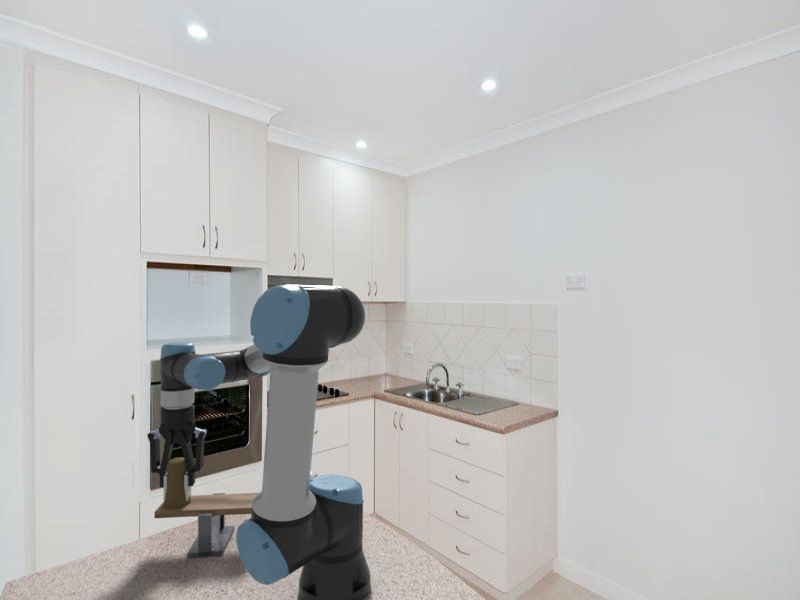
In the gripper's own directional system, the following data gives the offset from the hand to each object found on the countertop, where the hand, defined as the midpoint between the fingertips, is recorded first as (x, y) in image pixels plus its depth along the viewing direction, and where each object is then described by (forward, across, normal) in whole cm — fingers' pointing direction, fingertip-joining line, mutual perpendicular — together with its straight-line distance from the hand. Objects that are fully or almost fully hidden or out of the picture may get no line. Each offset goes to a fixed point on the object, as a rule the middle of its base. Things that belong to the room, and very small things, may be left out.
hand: (177, 498), depth 110 cm
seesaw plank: (+3, -8, 0) cm, 9 cm away
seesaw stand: (+12, -8, 0) cm, 14 cm away
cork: (+1, 0, 0) cm, 1 cm away
